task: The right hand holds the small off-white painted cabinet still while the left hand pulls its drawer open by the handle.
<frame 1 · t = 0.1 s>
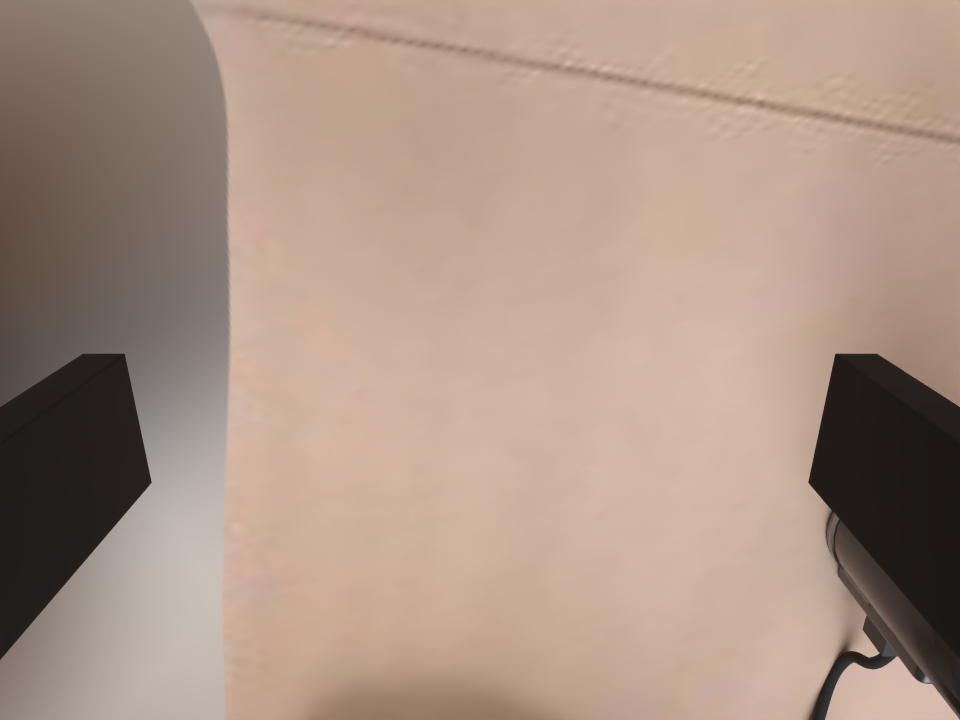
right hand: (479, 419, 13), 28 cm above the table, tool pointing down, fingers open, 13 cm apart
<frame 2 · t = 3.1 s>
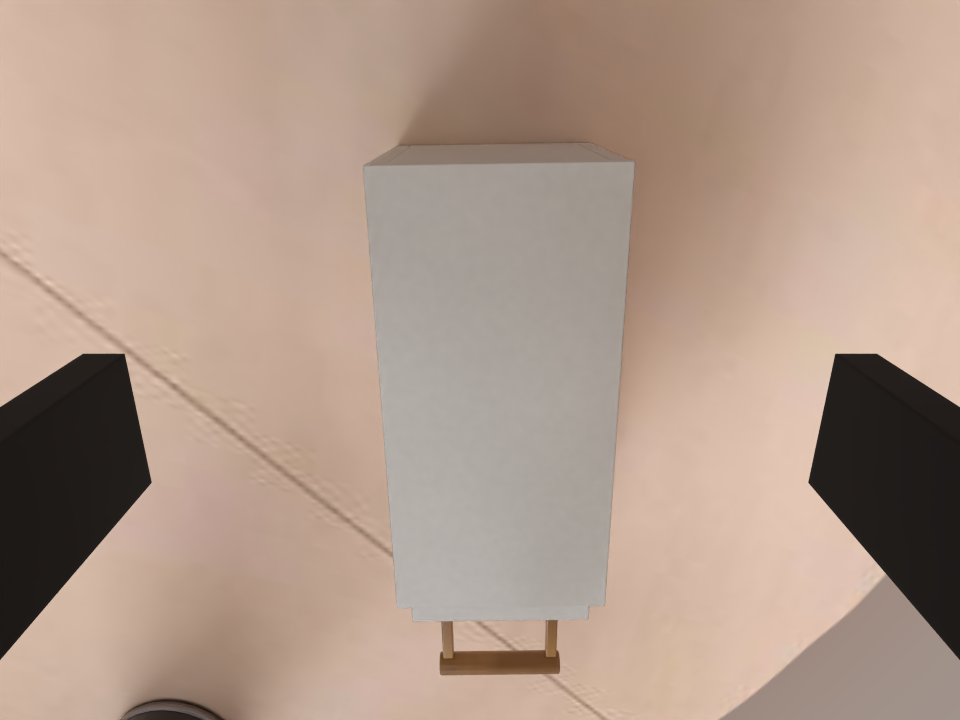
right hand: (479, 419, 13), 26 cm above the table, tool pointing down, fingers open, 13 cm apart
drawer: (497, 457, 36), point 5 cm above the table, slide at 0.5 cm
cabinet: (494, 332, 39), on the table
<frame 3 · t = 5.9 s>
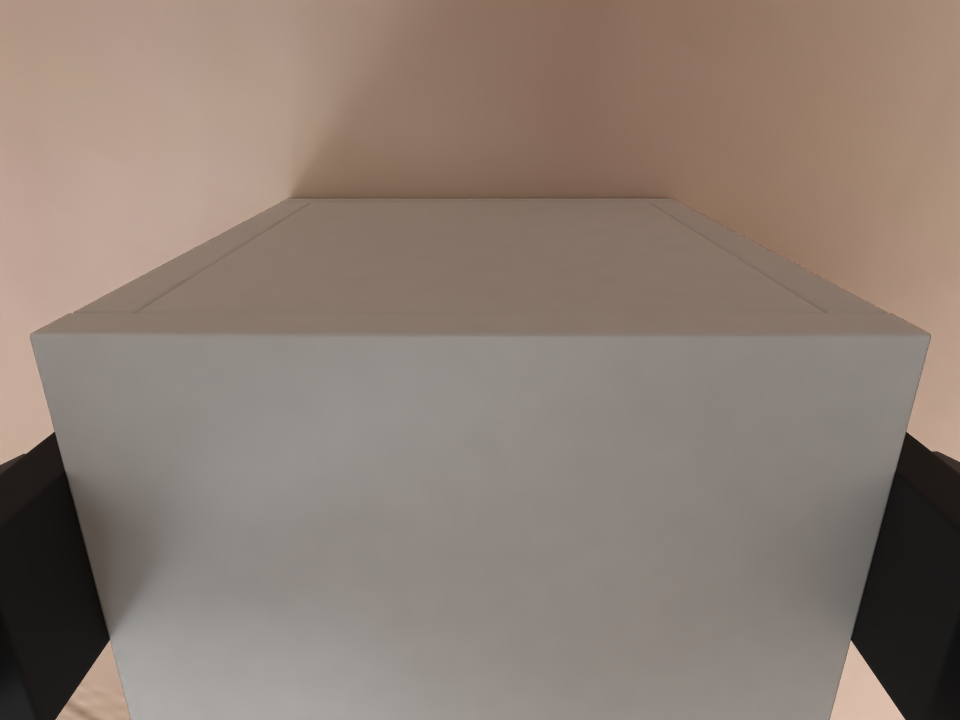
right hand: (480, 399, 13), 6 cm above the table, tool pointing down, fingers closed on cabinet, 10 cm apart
cabinet: (480, 530, 22), on the table, touching right hand
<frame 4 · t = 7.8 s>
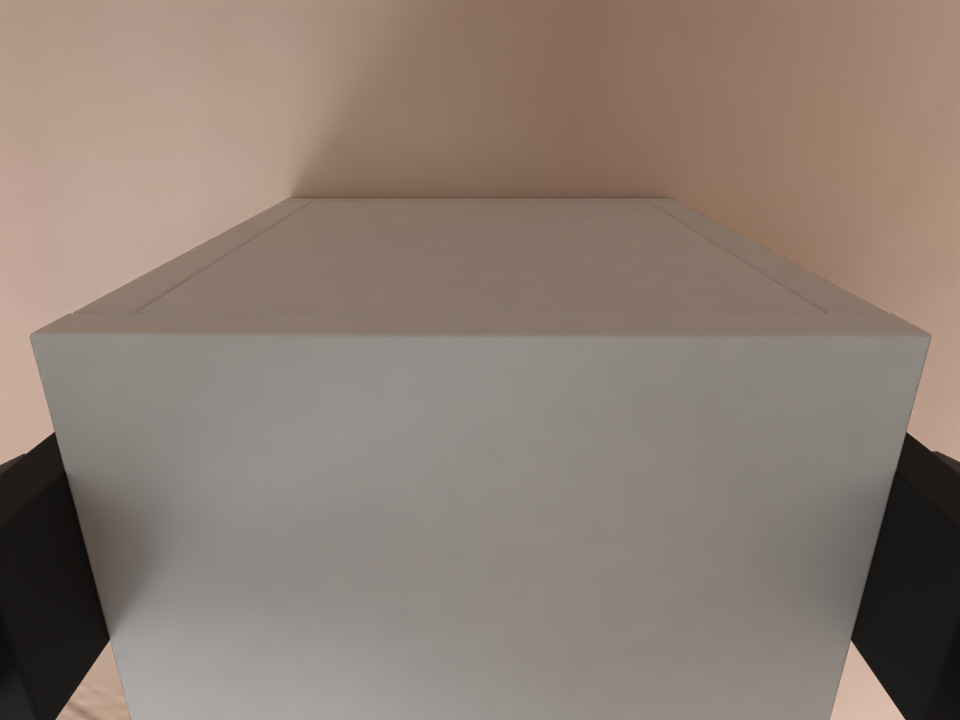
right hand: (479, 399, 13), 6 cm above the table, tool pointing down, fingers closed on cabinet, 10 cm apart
cabinet: (480, 530, 22), on the table, touching right hand
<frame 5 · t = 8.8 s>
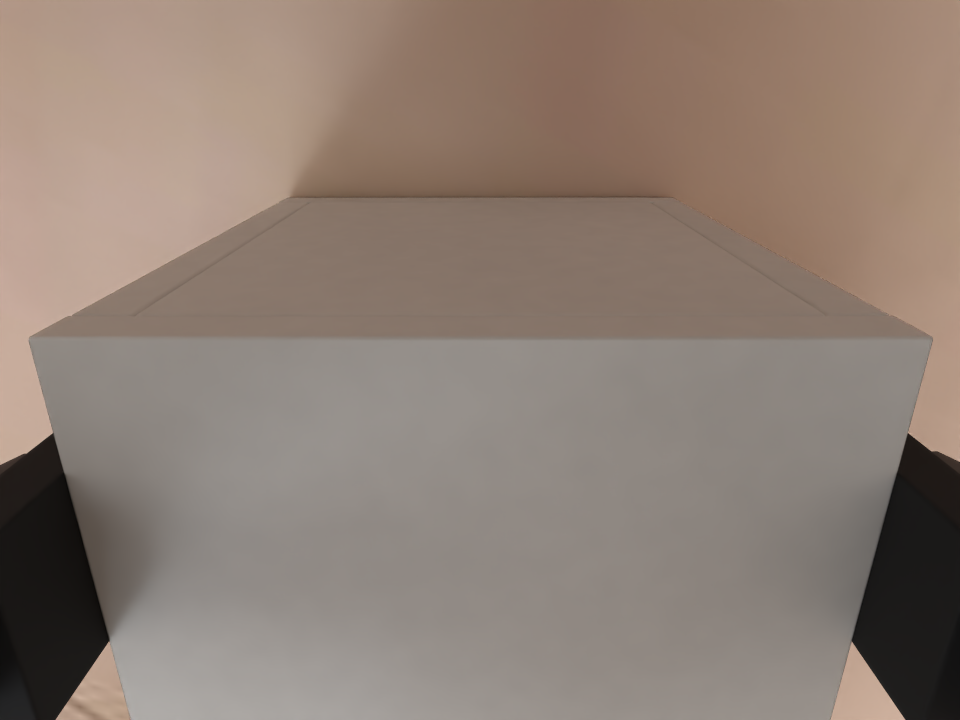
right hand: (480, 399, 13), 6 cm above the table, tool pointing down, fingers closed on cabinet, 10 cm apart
cabinet: (480, 529, 22), on the table, touching right hand
when the right hand's fingers open (6 cm above the table, at t = 10.5 s): cabinet stays where it is, on the table.
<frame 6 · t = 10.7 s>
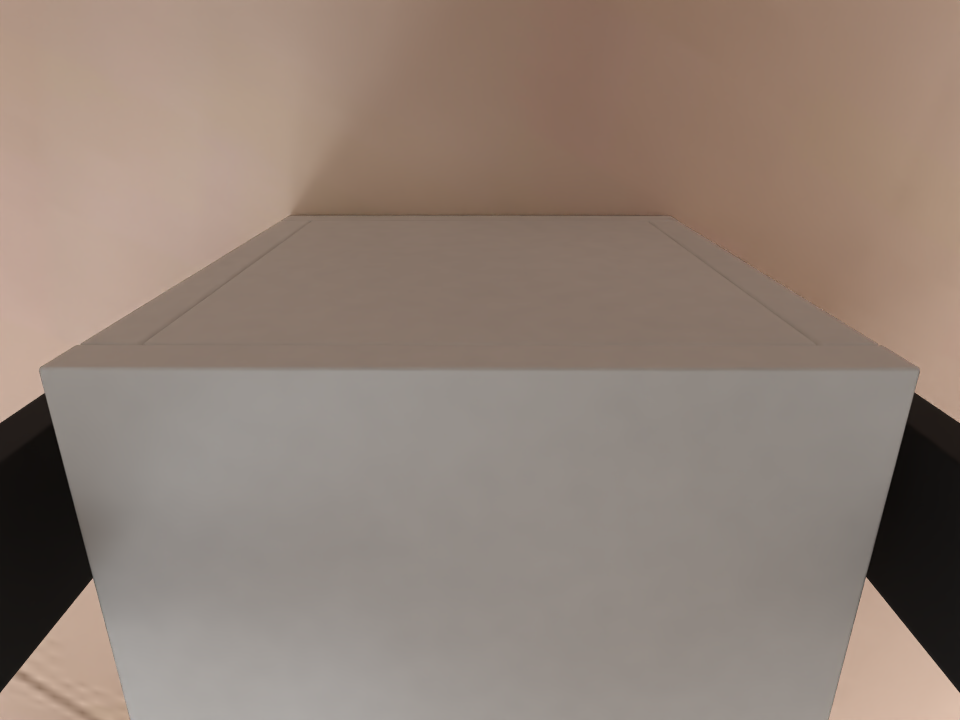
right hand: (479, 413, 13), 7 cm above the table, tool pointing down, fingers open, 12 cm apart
cabinet: (479, 542, 22), on the table
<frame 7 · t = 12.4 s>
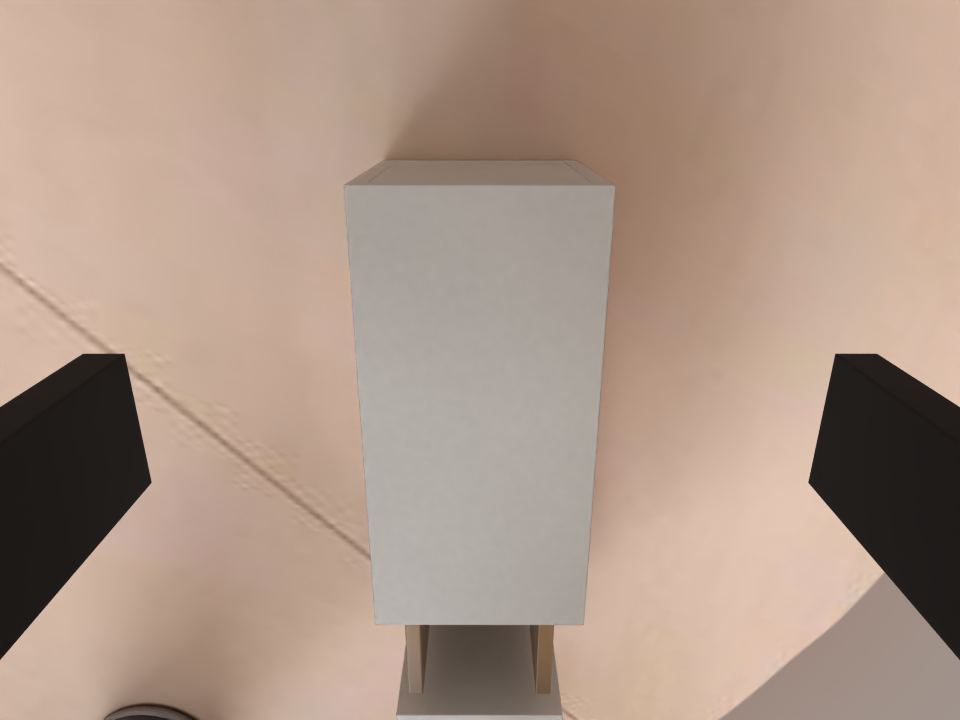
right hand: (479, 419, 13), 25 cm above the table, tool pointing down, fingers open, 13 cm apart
drawer: (479, 573, 38), point 5 cm above the table, slide at 7.1 cm
cabinet: (479, 347, 39), on the table
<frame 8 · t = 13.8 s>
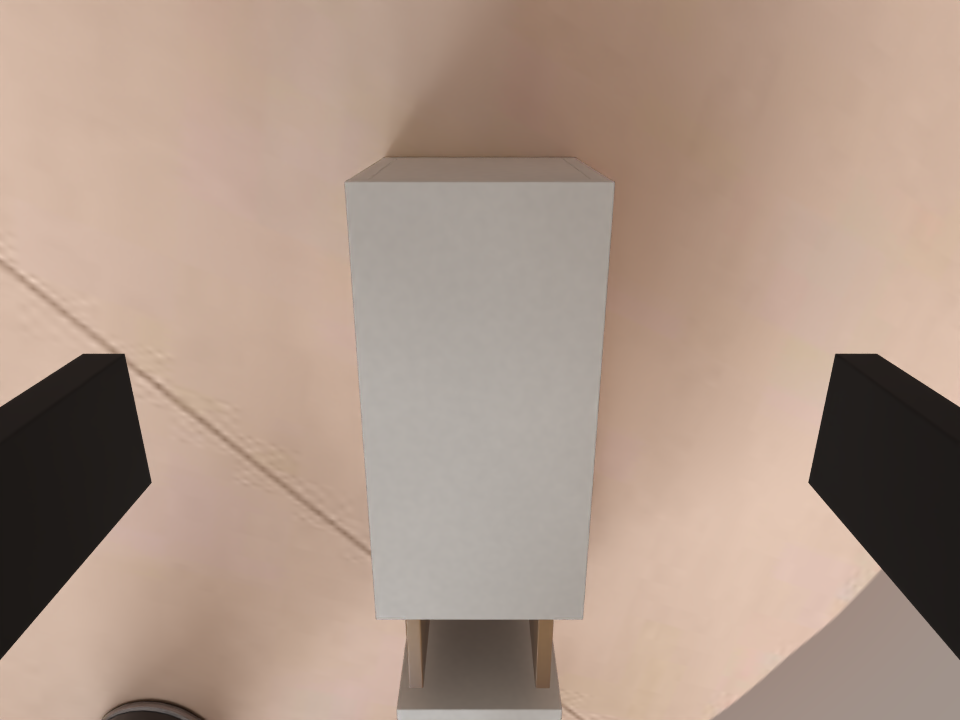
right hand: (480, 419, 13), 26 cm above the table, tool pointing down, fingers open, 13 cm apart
drawer: (479, 568, 39), point 5 cm above the table, slide at 7.1 cm
cabinet: (479, 344, 39), on the table
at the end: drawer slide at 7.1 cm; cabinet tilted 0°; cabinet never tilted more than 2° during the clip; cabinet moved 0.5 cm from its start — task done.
